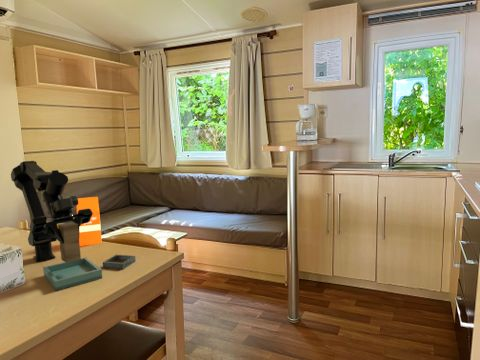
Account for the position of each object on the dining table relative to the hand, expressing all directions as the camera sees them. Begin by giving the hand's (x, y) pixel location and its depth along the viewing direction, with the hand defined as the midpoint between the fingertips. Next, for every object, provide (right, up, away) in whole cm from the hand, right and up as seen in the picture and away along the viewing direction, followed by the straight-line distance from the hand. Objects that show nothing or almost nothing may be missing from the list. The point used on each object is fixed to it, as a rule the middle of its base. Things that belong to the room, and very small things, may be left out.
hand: (71, 241), depth 115 cm
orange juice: (-10, -8, +40) cm, 42 cm away
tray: (-1, -12, +3) cm, 13 cm away
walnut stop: (-1, -6, +2) cm, 7 cm away
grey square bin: (+11, -11, +13) cm, 20 cm away
